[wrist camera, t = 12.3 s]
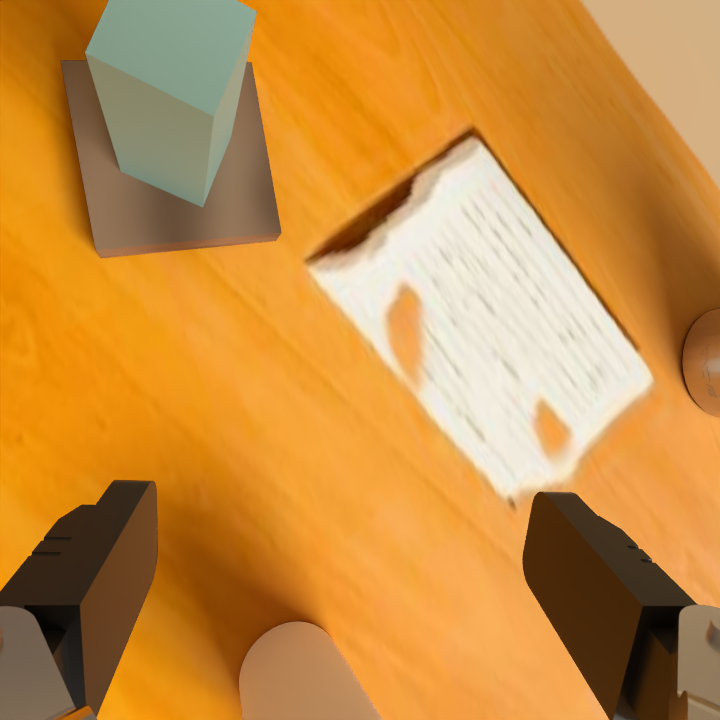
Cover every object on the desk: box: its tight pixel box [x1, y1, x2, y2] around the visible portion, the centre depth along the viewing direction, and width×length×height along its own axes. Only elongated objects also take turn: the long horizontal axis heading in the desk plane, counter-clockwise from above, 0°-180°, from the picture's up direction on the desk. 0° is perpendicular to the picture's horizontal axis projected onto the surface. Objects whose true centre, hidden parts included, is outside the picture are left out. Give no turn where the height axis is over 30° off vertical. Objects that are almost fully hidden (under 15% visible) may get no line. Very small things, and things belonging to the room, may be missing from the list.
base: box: [61, 60, 281, 258], centre depth 30 cm, size 10×10×2 cm
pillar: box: [85, 0, 257, 207], centre depth 24 cm, size 4×4×11 cm
